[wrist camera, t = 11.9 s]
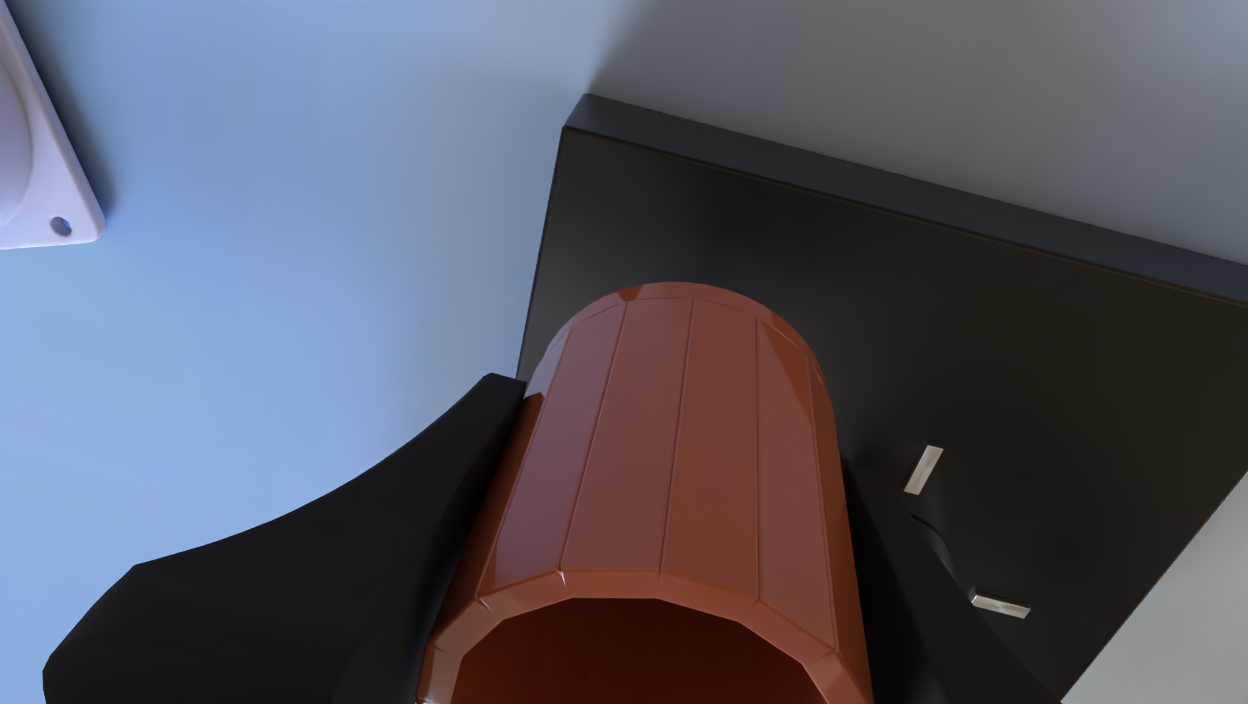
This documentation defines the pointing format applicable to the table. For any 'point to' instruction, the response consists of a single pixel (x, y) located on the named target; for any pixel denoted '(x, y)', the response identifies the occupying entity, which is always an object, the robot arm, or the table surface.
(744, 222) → the warming plate
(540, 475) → the orange stave barrel
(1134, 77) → the table surface
